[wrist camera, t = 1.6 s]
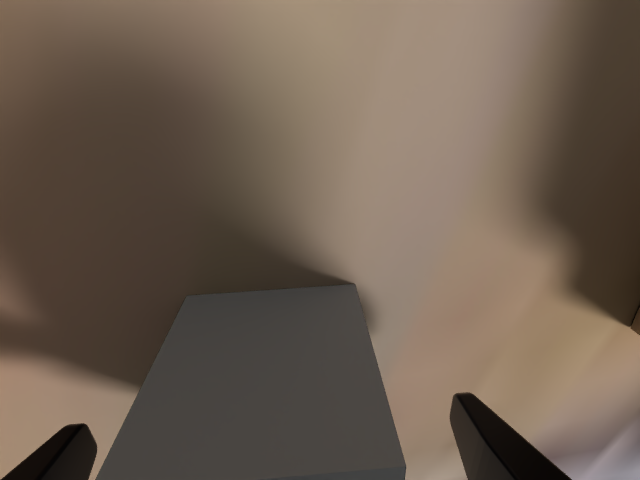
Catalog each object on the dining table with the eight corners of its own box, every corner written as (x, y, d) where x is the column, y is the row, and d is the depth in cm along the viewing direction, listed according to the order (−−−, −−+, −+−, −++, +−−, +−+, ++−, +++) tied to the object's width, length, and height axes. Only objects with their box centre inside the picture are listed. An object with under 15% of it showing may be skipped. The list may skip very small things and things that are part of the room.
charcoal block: (354, 399, 12) (391, 604, 7) (216, 410, 11) (163, 628, 7) (354, 282, 10) (405, 466, 5) (187, 294, 9) (87, 494, 5)
